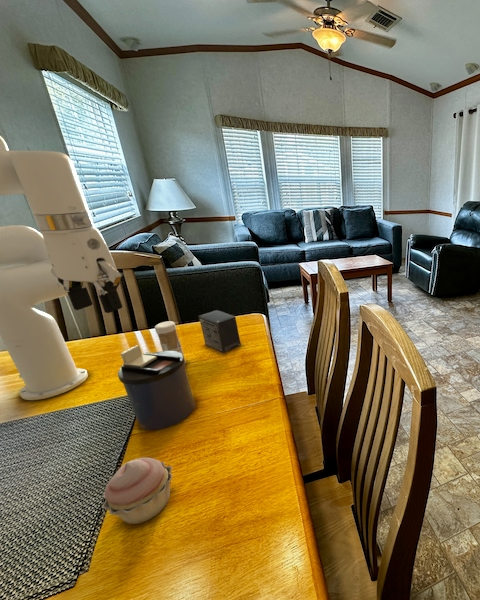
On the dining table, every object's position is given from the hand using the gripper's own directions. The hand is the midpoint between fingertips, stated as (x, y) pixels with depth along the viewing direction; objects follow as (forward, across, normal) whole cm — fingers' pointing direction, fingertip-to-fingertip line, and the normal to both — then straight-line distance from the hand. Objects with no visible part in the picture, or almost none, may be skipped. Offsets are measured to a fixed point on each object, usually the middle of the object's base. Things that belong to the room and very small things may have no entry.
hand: (98, 308), depth 68 cm
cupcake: (+26, -25, +20) cm, 41 cm away
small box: (+26, 0, -30) cm, 40 cm away
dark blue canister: (+26, -9, 0) cm, 27 cm away
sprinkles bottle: (+26, +5, -17) cm, 31 cm away
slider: (+12, -6, 0) cm, 14 cm away
